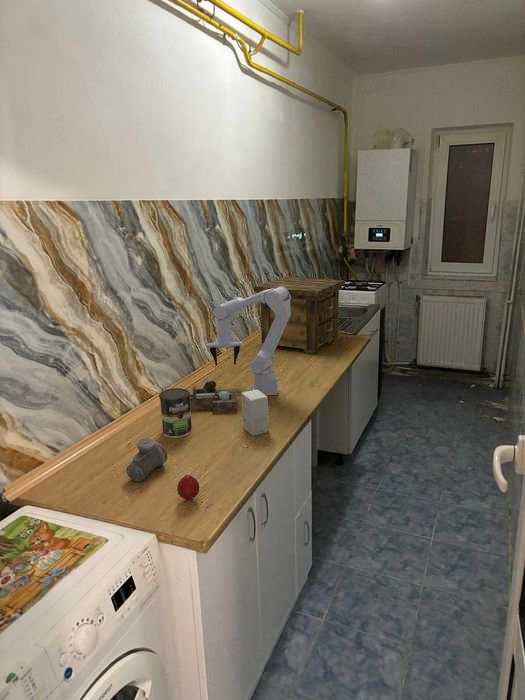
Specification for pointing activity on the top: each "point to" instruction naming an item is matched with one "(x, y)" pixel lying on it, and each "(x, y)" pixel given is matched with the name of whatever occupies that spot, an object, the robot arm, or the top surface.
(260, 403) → the small box
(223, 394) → the dowel
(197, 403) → the mount
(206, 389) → the bolt
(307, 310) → the crate
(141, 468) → the pipe fitting
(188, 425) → the coffee can
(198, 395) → the lock bar
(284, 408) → the top surface
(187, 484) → the onion
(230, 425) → the top surface
